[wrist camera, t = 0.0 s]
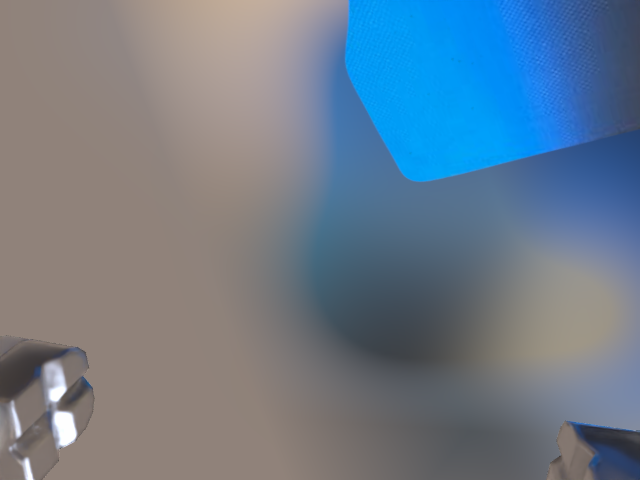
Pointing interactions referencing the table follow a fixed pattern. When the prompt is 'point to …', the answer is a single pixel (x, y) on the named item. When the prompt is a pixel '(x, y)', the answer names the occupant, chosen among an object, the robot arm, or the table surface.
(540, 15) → the table surface
